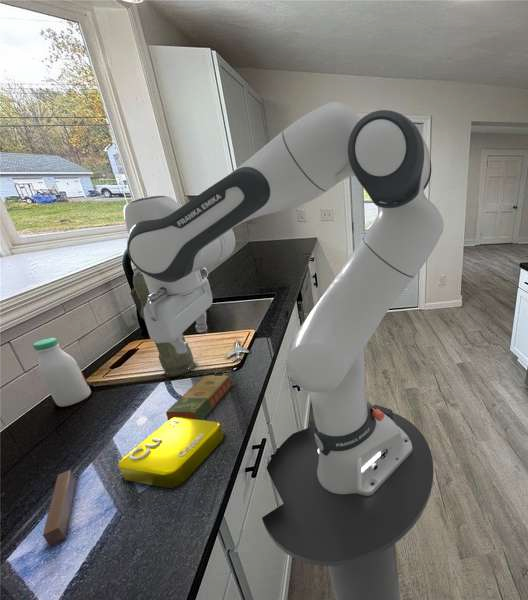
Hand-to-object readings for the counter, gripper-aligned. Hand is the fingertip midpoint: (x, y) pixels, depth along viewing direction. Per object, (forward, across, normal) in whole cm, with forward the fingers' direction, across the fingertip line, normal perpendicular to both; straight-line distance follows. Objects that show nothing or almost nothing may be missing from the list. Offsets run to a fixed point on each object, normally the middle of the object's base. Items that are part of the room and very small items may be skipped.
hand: (193, 340), depth 68 cm
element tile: (+27, -4, +9) cm, 29 cm away
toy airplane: (+27, +43, +9) cm, 52 cm away
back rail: (+27, -14, +26) cm, 40 cm away
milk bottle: (+27, +26, +52) cm, 64 cm away
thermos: (+27, +36, +26) cm, 53 cm away
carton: (+27, +14, +11) cm, 33 cm away
